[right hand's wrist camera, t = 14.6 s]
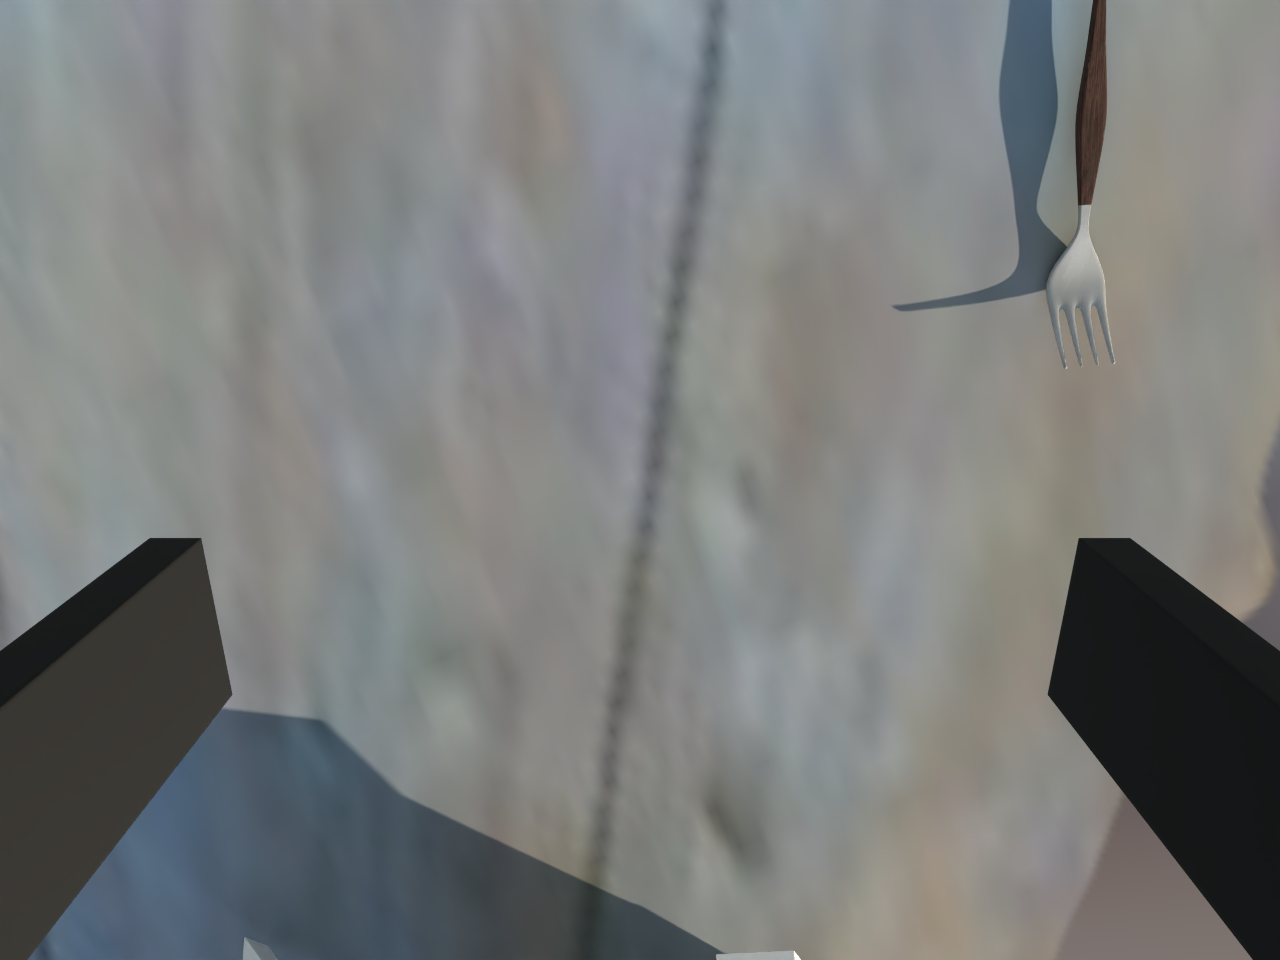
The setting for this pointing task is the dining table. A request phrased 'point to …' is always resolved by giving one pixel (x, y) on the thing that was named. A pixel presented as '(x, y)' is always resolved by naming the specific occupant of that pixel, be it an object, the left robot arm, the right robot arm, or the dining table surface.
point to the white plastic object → (260, 956)
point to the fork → (1084, 202)
